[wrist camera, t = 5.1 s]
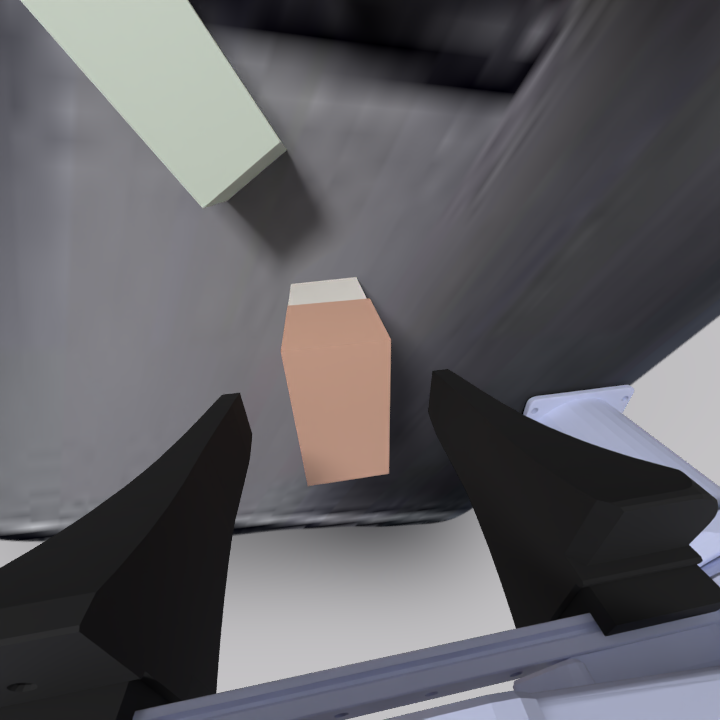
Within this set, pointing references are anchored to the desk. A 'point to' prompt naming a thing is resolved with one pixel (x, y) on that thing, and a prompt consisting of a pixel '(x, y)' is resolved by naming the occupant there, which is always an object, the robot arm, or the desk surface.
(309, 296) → the cream brick
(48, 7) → the sage brick
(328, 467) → the terracotta brick
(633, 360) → the desk surface
